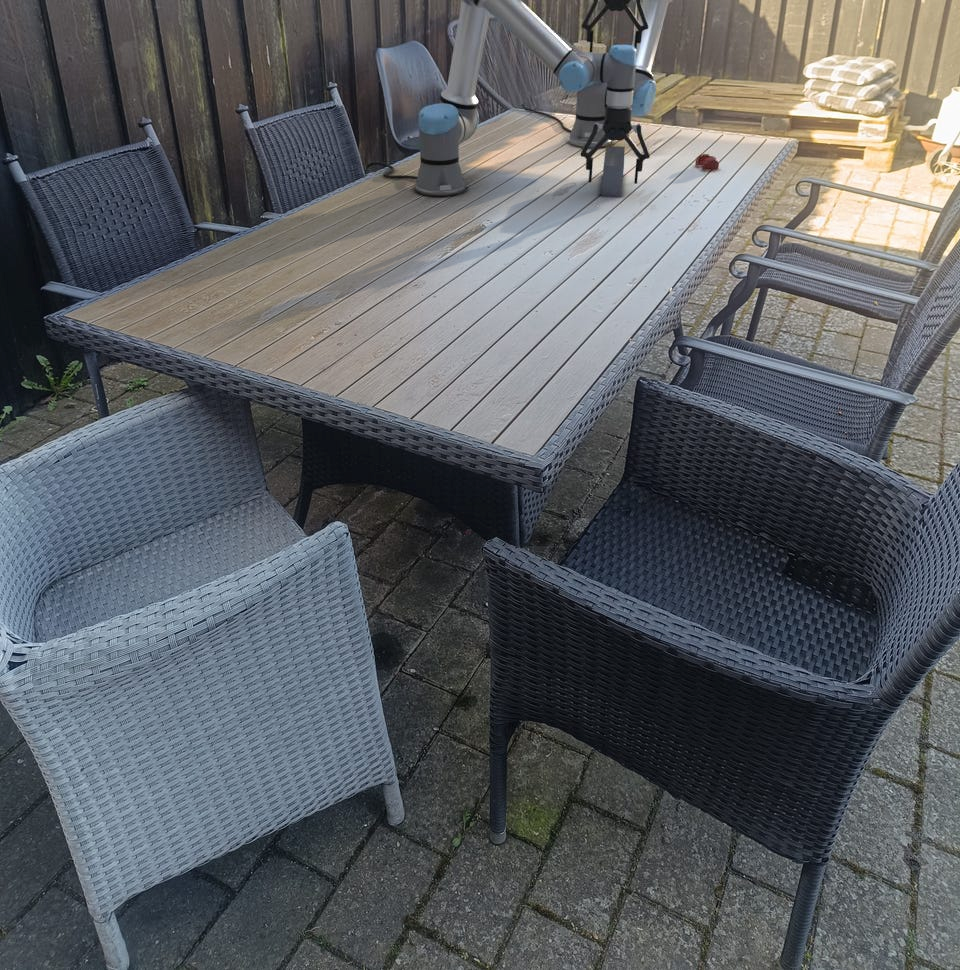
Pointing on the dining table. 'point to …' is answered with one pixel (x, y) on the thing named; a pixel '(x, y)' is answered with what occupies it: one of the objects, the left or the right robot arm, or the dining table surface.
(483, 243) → the dining table surface
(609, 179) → the bar
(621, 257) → the dining table surface
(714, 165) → the dental model
